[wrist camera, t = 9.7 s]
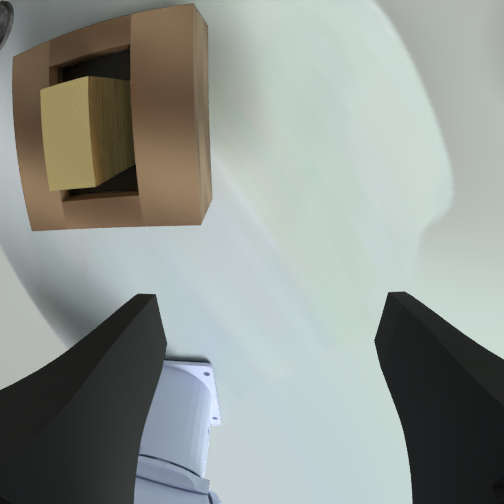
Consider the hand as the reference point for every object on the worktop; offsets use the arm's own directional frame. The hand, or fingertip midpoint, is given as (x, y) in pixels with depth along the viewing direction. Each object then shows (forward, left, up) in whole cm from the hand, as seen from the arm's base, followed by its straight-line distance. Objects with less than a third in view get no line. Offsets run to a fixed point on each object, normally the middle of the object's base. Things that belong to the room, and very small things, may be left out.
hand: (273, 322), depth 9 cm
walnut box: (+6, +8, -9) cm, 14 cm away
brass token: (+6, +8, -10) cm, 14 cm away
